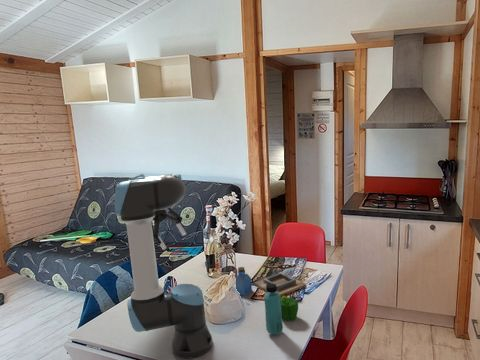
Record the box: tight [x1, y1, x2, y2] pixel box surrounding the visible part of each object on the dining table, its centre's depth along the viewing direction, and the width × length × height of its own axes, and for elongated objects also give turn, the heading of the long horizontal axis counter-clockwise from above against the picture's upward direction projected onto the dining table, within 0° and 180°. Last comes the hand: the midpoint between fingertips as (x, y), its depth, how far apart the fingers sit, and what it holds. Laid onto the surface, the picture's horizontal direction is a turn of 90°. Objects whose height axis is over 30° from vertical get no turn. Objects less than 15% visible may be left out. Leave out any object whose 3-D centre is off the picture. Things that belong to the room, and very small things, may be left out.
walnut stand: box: [253, 271, 307, 296], centre depth 180 cm, size 18×18×4 cm
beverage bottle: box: [263, 283, 284, 335], centre depth 141 cm, size 6×7×20 cm
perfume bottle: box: [235, 266, 253, 297], centre depth 177 cm, size 6×6×12 cm
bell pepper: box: [280, 295, 299, 322], centre depth 151 cm, size 8×8×10 cm
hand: (175, 241), depth 178 cm, fingers open, 13 cm apart
